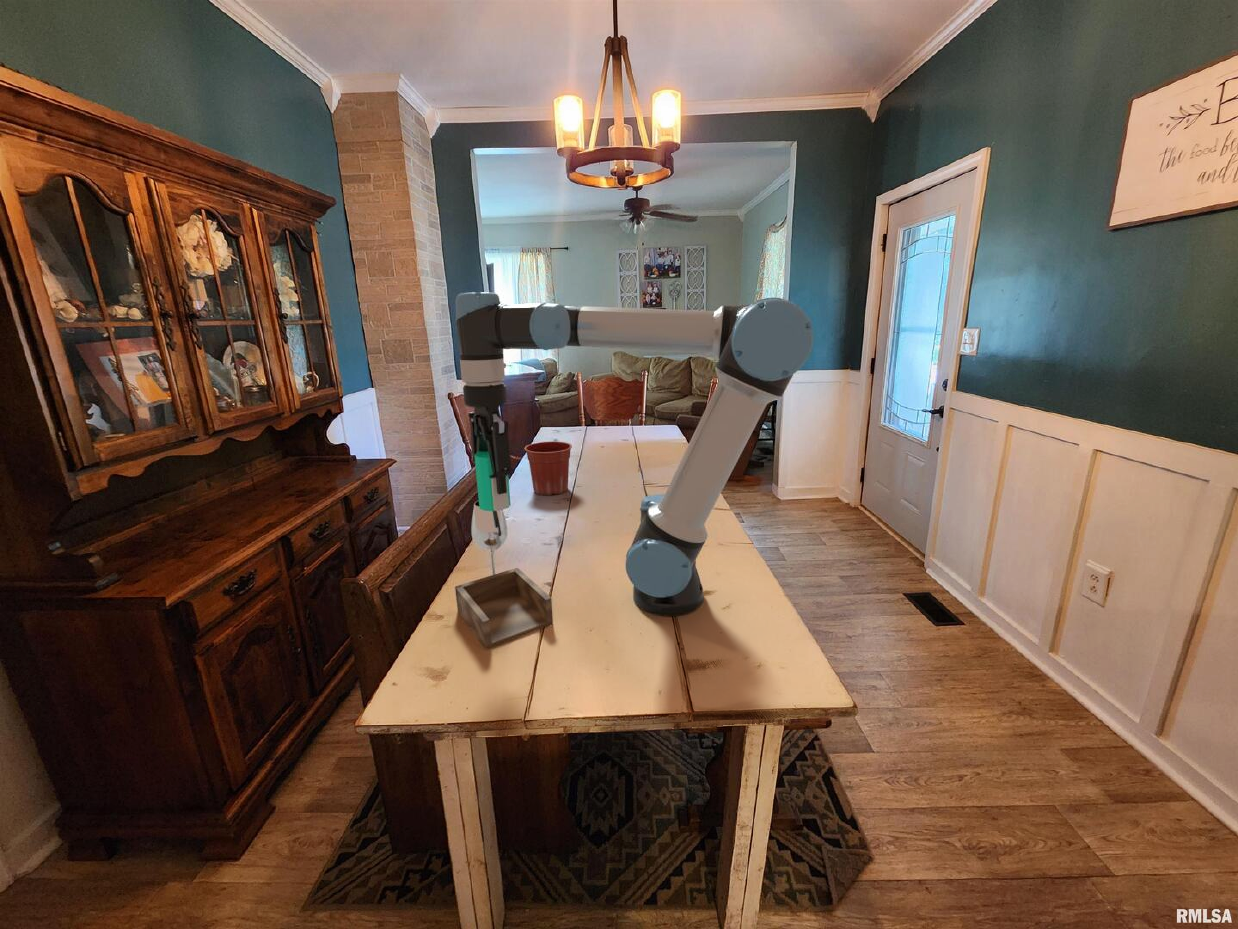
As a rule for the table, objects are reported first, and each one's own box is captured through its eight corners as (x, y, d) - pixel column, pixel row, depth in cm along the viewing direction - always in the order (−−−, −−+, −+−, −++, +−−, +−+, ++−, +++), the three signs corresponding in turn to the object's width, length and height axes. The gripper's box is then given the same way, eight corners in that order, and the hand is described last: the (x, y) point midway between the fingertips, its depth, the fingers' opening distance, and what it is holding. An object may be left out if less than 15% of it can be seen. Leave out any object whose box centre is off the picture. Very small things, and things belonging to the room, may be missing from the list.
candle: (513, 499, 102) (508, 441, 99) (507, 510, 96) (502, 448, 93) (482, 500, 102) (477, 441, 99) (475, 511, 96) (469, 449, 93)
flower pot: (524, 485, 189) (521, 443, 185) (568, 481, 194) (566, 439, 189) (531, 500, 174) (527, 454, 169) (578, 494, 179) (576, 449, 174)
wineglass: (477, 594, 114) (468, 510, 109) (476, 578, 122) (468, 498, 116) (512, 589, 116) (506, 506, 111) (510, 573, 124) (504, 495, 118)
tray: (552, 623, 103) (551, 598, 102) (485, 649, 95) (483, 621, 94) (519, 591, 116) (517, 567, 114) (457, 611, 108) (454, 586, 107)
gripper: (525, 386, 87) (534, 514, 93) (485, 377, 102) (494, 487, 109) (483, 390, 83) (494, 523, 89) (447, 380, 98) (459, 494, 104)
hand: (494, 503), depth 99 cm, fingers closed on candle, 6 cm apart
